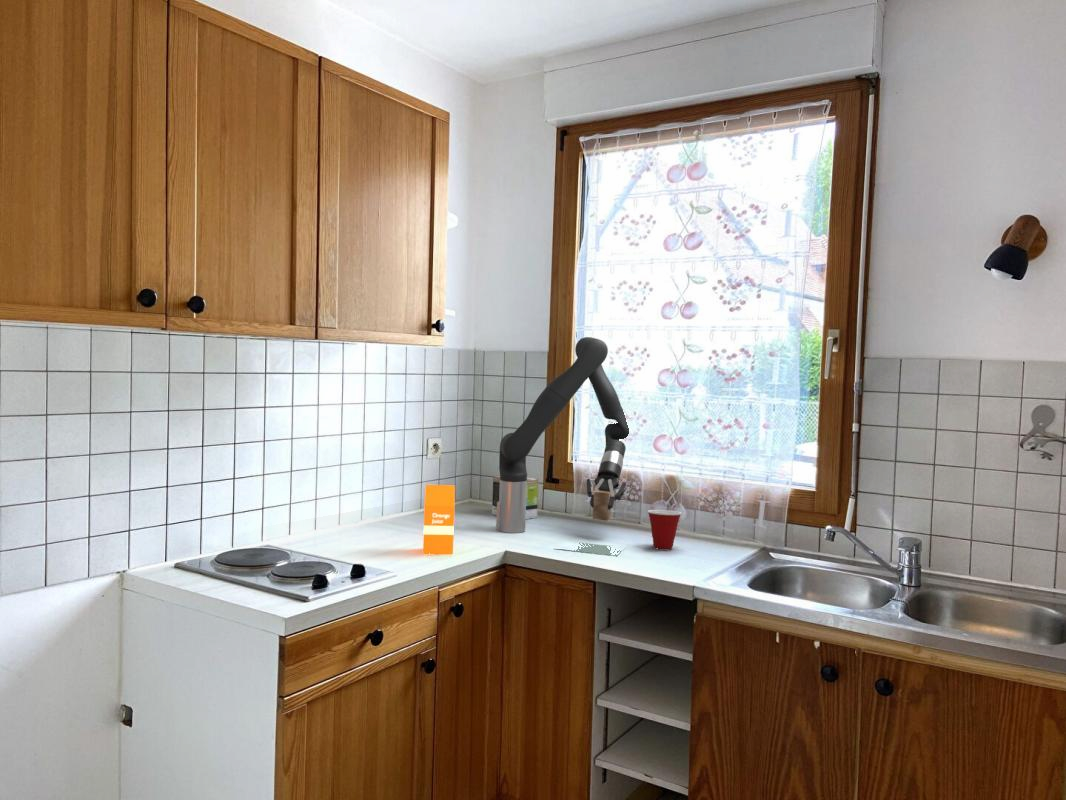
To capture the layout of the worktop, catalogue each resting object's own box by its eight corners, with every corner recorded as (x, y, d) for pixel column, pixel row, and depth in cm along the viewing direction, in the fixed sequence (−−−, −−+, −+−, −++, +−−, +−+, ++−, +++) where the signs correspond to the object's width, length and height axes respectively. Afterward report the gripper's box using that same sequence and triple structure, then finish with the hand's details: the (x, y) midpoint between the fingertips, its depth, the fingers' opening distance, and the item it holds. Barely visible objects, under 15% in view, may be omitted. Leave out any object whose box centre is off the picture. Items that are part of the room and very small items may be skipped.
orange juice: (424, 548, 237) (426, 482, 236) (453, 548, 238) (455, 483, 237) (422, 554, 229) (424, 486, 228) (453, 555, 230) (455, 487, 229)
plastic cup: (678, 545, 254) (680, 508, 254) (681, 552, 243) (683, 514, 243) (645, 543, 255) (646, 506, 255) (646, 550, 244) (648, 512, 244)
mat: (553, 549, 242) (553, 548, 242) (564, 541, 253) (564, 540, 253) (616, 556, 236) (616, 555, 236) (625, 548, 247) (625, 547, 247)
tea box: (538, 517, 292) (539, 478, 292) (519, 521, 285) (520, 480, 284) (509, 511, 303) (511, 473, 302) (490, 514, 295) (492, 475, 295)
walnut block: (592, 519, 258) (594, 491, 258) (595, 517, 262) (596, 490, 262) (607, 520, 257) (608, 493, 256) (610, 518, 261) (611, 491, 260)
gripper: (589, 458, 268) (578, 498, 257) (630, 461, 264) (621, 502, 253) (591, 472, 273) (581, 511, 262) (632, 475, 269) (623, 516, 258)
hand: (600, 507), depth 258 cm, fingers closed on walnut block, 5 cm apart
